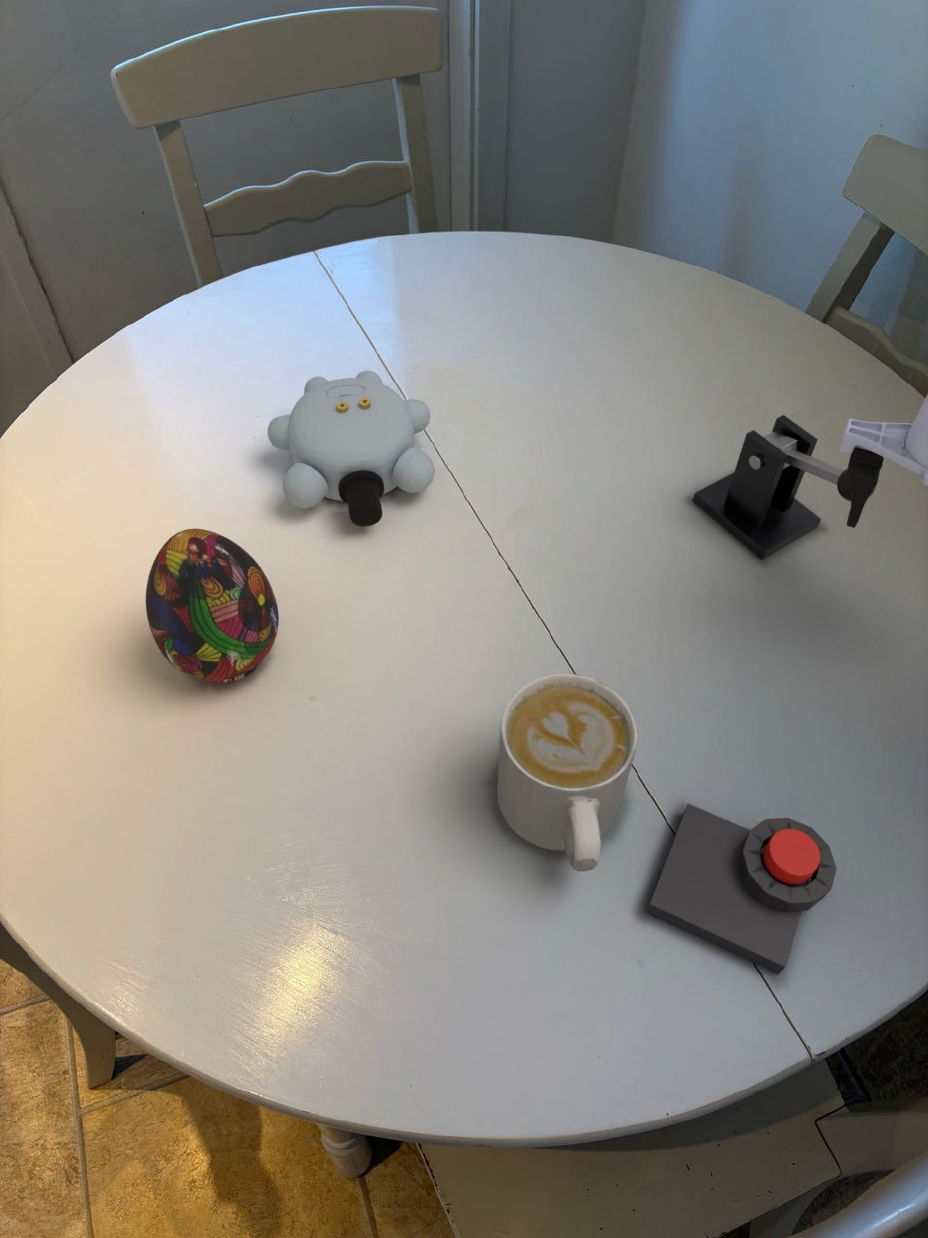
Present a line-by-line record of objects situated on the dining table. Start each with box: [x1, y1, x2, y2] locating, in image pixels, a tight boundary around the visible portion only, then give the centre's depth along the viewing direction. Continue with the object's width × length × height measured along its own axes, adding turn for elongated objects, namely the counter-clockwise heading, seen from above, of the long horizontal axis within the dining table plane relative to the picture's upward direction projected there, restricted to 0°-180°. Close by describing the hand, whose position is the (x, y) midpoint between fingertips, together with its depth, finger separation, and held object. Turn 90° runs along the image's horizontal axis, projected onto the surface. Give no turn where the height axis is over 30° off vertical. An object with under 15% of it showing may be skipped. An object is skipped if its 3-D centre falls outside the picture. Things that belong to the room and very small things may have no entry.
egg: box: [145, 528, 280, 684], centre depth 75 cm, size 11×11×15 cm
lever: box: [763, 431, 877, 503], centre depth 82 cm, size 12×3×3 cm, turn 34°
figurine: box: [267, 370, 436, 528], centre depth 93 cm, size 17×8×20 cm
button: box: [763, 829, 820, 885], centre depth 65 cm, size 4×4×2 cm
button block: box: [645, 803, 837, 975], centre depth 66 cm, size 11×10×4 cm
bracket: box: [692, 414, 822, 560], centre depth 88 cm, size 10×8×10 cm
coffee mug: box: [496, 673, 639, 872], centre depth 67 cm, size 13×10×10 cm
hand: (898, 531), depth 76 cm, fingers open, 7 cm apart
